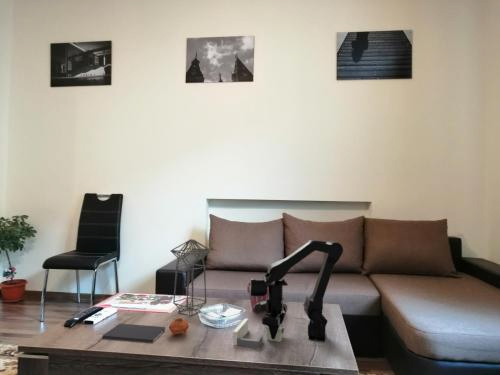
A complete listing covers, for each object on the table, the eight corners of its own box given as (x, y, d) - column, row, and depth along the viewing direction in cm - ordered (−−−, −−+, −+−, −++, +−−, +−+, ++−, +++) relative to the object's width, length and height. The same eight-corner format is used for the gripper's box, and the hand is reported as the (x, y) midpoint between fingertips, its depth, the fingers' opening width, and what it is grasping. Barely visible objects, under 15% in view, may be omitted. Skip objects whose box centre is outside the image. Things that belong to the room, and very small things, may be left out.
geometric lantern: (166, 313, 163) (168, 239, 165) (190, 305, 176) (191, 237, 177) (190, 319, 154) (191, 241, 156) (213, 311, 167) (214, 239, 168)
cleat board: (268, 333, 140) (268, 321, 140) (258, 348, 126) (258, 335, 126) (245, 330, 143) (245, 318, 143) (233, 344, 129) (233, 331, 129)
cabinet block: (284, 337, 137) (284, 324, 137) (282, 342, 132) (282, 329, 132) (269, 335, 139) (270, 322, 139) (266, 340, 134) (266, 327, 134)
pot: (192, 330, 142) (191, 315, 141) (184, 342, 135) (183, 327, 133) (175, 327, 144) (174, 313, 143) (165, 339, 137) (164, 324, 135)
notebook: (102, 339, 134) (152, 343, 131) (102, 335, 134) (153, 339, 131) (119, 327, 147) (166, 330, 143) (119, 323, 147) (166, 327, 143)
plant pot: (266, 317, 159) (266, 289, 159) (241, 311, 166) (241, 285, 166) (280, 308, 171) (280, 282, 171) (256, 303, 178) (256, 278, 179)
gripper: (262, 288, 147) (261, 324, 147) (249, 301, 130) (248, 342, 129) (287, 290, 144) (287, 327, 144) (277, 304, 126) (277, 346, 126)
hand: (275, 335), depth 136 cm, fingers open, 7 cm apart
